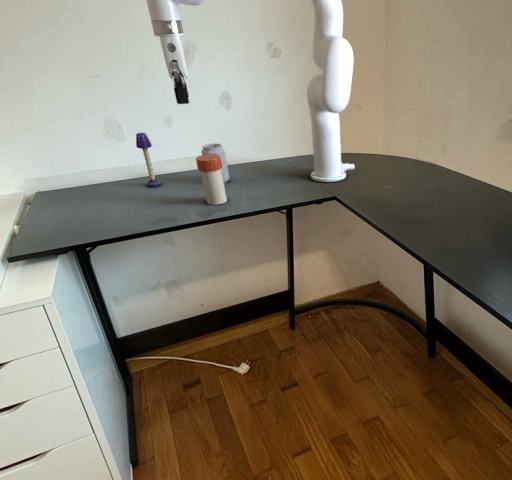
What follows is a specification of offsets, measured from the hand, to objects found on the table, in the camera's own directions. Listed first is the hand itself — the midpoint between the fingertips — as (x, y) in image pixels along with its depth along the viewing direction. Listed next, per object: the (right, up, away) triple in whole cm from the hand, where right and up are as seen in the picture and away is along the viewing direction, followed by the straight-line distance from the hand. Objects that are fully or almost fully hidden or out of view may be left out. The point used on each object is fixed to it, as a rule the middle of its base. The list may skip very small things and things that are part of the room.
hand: (183, 100), depth 134 cm
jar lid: (+5, -15, +6) cm, 17 cm away
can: (+1, -13, +29) cm, 32 cm away
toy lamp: (-20, -16, +26) cm, 36 cm away
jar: (+5, -25, +13) cm, 29 cm away
